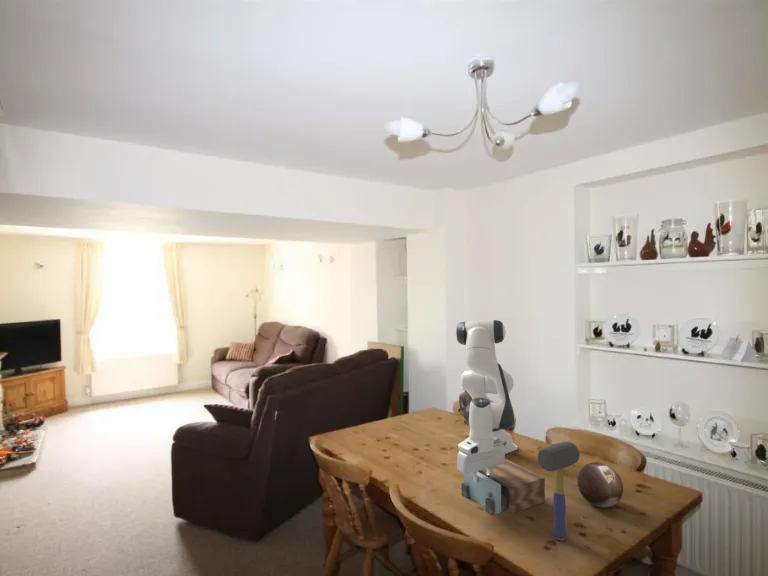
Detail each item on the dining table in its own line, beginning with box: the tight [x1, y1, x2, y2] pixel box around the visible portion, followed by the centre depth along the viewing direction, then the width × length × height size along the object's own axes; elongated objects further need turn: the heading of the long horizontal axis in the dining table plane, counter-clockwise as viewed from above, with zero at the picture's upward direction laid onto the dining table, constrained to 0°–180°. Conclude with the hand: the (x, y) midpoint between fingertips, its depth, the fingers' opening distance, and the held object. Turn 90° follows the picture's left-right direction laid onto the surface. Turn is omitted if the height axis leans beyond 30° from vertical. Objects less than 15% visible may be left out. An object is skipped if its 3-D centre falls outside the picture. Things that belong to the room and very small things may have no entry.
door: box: [463, 471, 502, 515], centre depth 162 cm, size 3×18×10 cm, turn 27°
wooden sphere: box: [576, 461, 624, 508], centre depth 159 cm, size 15×15×15 cm
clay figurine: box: [457, 388, 473, 423], centre depth 259 cm, size 13×10×25 cm
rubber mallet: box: [537, 441, 580, 541], centre depth 138 cm, size 12×8×30 cm, turn 120°
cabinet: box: [461, 458, 546, 516], centre depth 166 cm, size 24×22×9 cm
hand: (482, 480), depth 162 cm, fingers open, 4 cm apart
